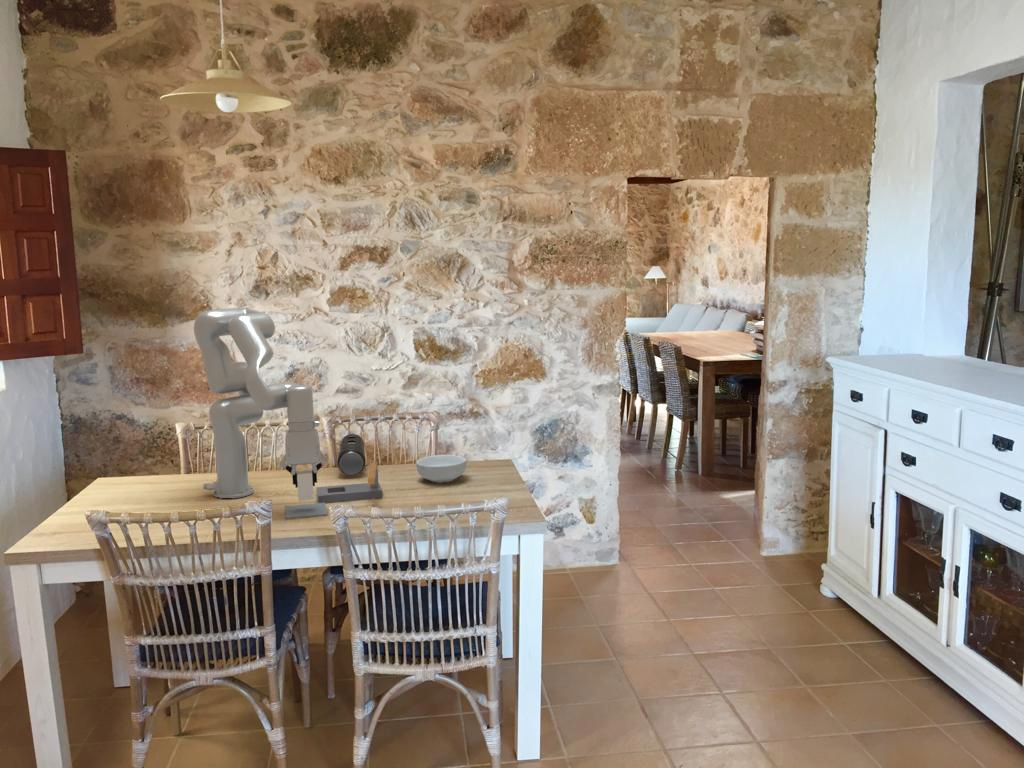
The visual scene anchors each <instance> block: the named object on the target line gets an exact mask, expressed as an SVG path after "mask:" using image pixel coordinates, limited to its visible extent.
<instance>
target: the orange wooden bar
mask: <svg viewBox="0 0 1024 768" xmlns="http://www.w3.org/2000/svg"><path fill="white" fill-rule="evenodd" d="M368 466H369V469H368V475H367V483H368V484H374V482H375V475H376V469H377V470H378V468H379V466H378V461H375V460H372V461H369V463H368Z"/></svg>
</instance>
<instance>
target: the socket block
mask: <svg viewBox="0 0 1024 768" xmlns="http://www.w3.org/2000/svg"><path fill="white" fill-rule="evenodd" d="M378 470H379V469H378V468H377V469H376V475H375V482H374V484H368V482H364V483H354V484H353V483H352V484H341V485H330V486H318V487H316V497H317V503H324V502H325V504H328V503H329V504H330V503H331V504H332V503H338V502H339V503H340V502H341V503H342V502H350V501H353V502H354V501H364V500H372V498H376V499H383V498H384V497H383V496H384V494H383V488H382V486H381V484H380V482H379V471H378ZM382 497H383V498H382ZM363 499H364V500H363Z"/></svg>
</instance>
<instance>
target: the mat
mask: <svg viewBox="0 0 1024 768" xmlns="http://www.w3.org/2000/svg"><path fill="white" fill-rule="evenodd" d="M284 508H285V509H284V510H285V511H284V512H285V520H292V519H294V520H295V519H304V518H313V517H324V516H328V511H327V506H326V503H325V502H324V503H318V502H317V503H316V502H315V503H306V504H305V503H304V504H294V505H292V504H291V505H285V506H284Z"/></svg>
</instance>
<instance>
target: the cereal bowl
mask: <svg viewBox="0 0 1024 768" xmlns="http://www.w3.org/2000/svg"><path fill="white" fill-rule="evenodd" d="M416 468H417V473H418V474H419V476H421V477H422V478H423V479H425V480H427V481H428V480H429V481H430V482H431V481H432V483H434V482H436V483H435V484H443V483H442V482H447V483H450V481H451V482H453V481H454V480H455V479H457V478H459V477H461V476H462V475H463V474H464V473H465V470H466V469H467V458H466V457H464V456H460V455H454V454H436V455H429V456H425V457H421V458H419V459H417V461H416Z"/></svg>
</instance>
